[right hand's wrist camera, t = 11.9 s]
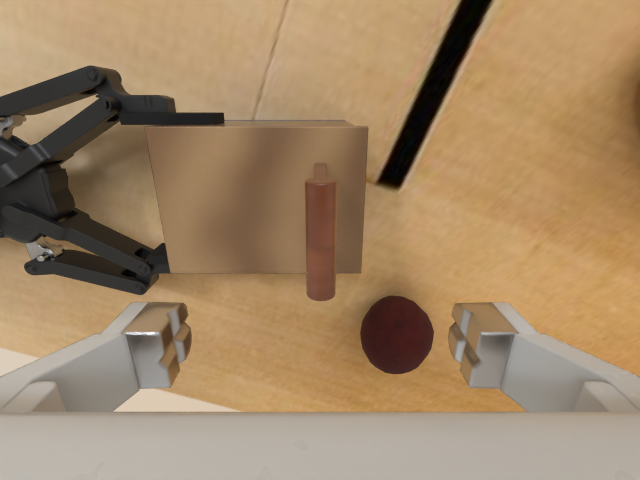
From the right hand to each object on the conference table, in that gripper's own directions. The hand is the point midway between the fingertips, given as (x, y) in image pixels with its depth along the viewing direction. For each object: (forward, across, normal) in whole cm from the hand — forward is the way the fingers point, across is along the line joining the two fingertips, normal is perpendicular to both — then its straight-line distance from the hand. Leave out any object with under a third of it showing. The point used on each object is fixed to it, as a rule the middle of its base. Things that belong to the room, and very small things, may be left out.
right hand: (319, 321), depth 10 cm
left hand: (+18, -7, 0) cm, 19 cm away
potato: (+24, +8, -16) cm, 29 cm away
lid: (+14, -4, 0) cm, 15 cm away
